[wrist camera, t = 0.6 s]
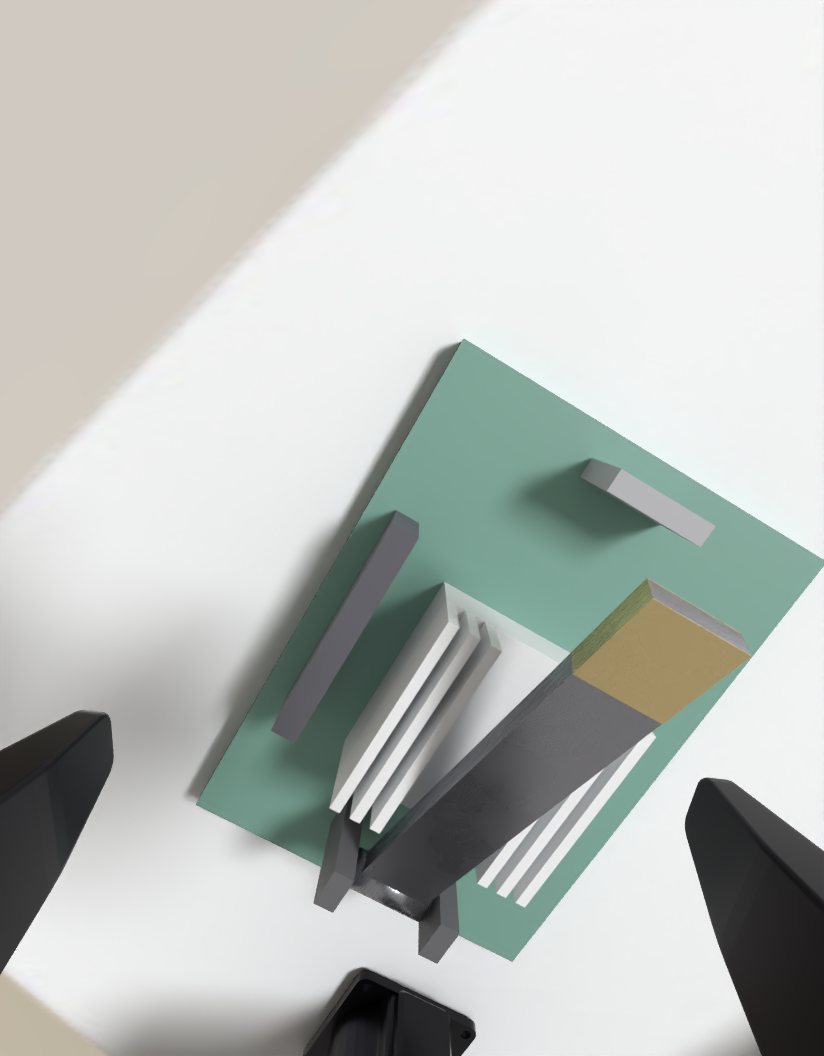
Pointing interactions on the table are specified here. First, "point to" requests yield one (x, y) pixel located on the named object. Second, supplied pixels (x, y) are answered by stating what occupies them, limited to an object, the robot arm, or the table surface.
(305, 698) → the board
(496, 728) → the gold-tipped grey bar
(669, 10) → the table surface
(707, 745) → the table surface
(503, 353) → the table surface
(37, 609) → the table surface
